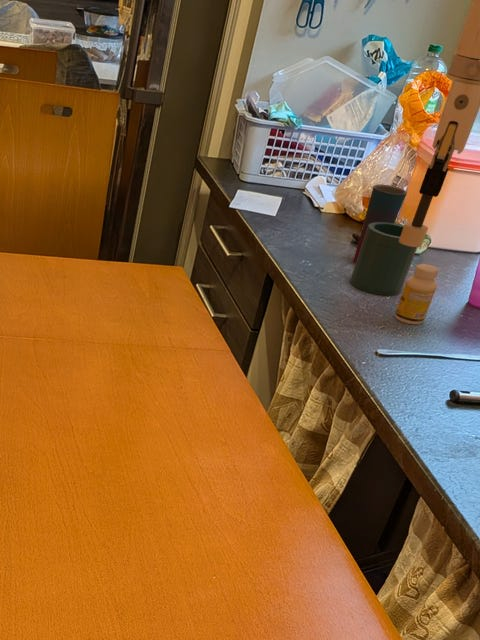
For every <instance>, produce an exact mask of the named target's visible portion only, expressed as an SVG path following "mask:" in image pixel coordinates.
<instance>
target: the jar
mask: <svg viewBox="0 0 480 640" xmlns="http://www.w3.org/2000/svg"><path fill="white" fill-rule="evenodd" d="M403 228H404V224H403V225H402V224H399V223H387V222H374V223H371V224H369V225H368V228H367V231H366V234H365V237H364V240H363V243H362V246H361V249H360V252H359V255H358V258H357V261H356V263H355V264H354V266H353V271H352V273H351V277H350V280H349V281H350V282H349V283H350V284H351V286H352V287H355V288H356V289H358V290H360V291H363V292H366V293H370V294H373V295H377V296H378V295H379V296H395V295H399V294H400V293H401V292H402V289H403V287H404V286H405V282H406V279H407V276H408V274H409V271H410V268H411V265H412V263H413V260H414V257H415V255H416V252H417V250H418V247H411V246H406V245H403V244H401V243H400V242H399V239H400V236H401V233H402V230H403Z"/></svg>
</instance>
